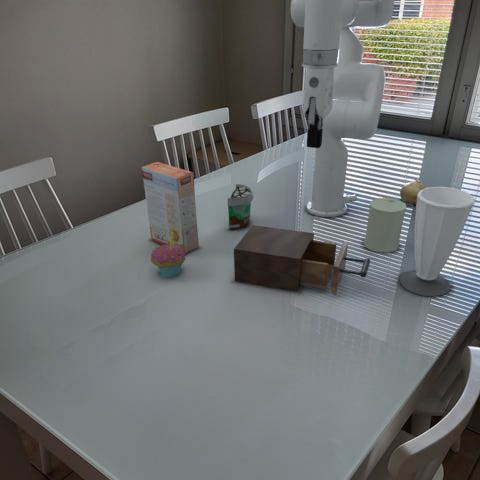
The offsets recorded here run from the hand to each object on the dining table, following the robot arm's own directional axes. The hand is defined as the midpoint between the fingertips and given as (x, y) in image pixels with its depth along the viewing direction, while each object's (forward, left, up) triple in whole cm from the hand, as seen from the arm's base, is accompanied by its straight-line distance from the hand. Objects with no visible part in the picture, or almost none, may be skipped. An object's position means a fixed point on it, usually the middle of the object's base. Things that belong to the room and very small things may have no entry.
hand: (314, 146), depth 112 cm
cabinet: (+13, +8, -27) cm, 31 cm away
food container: (+10, -22, -27) cm, 36 cm away
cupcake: (+37, -2, -27) cm, 46 cm away
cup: (-18, +26, -27) cm, 42 cm away
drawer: (+4, +16, -26) cm, 31 cm away
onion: (-46, -17, -27) cm, 56 cm away
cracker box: (+32, -17, -27) cm, 45 cm away
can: (-20, +5, -27) cm, 34 cm away
